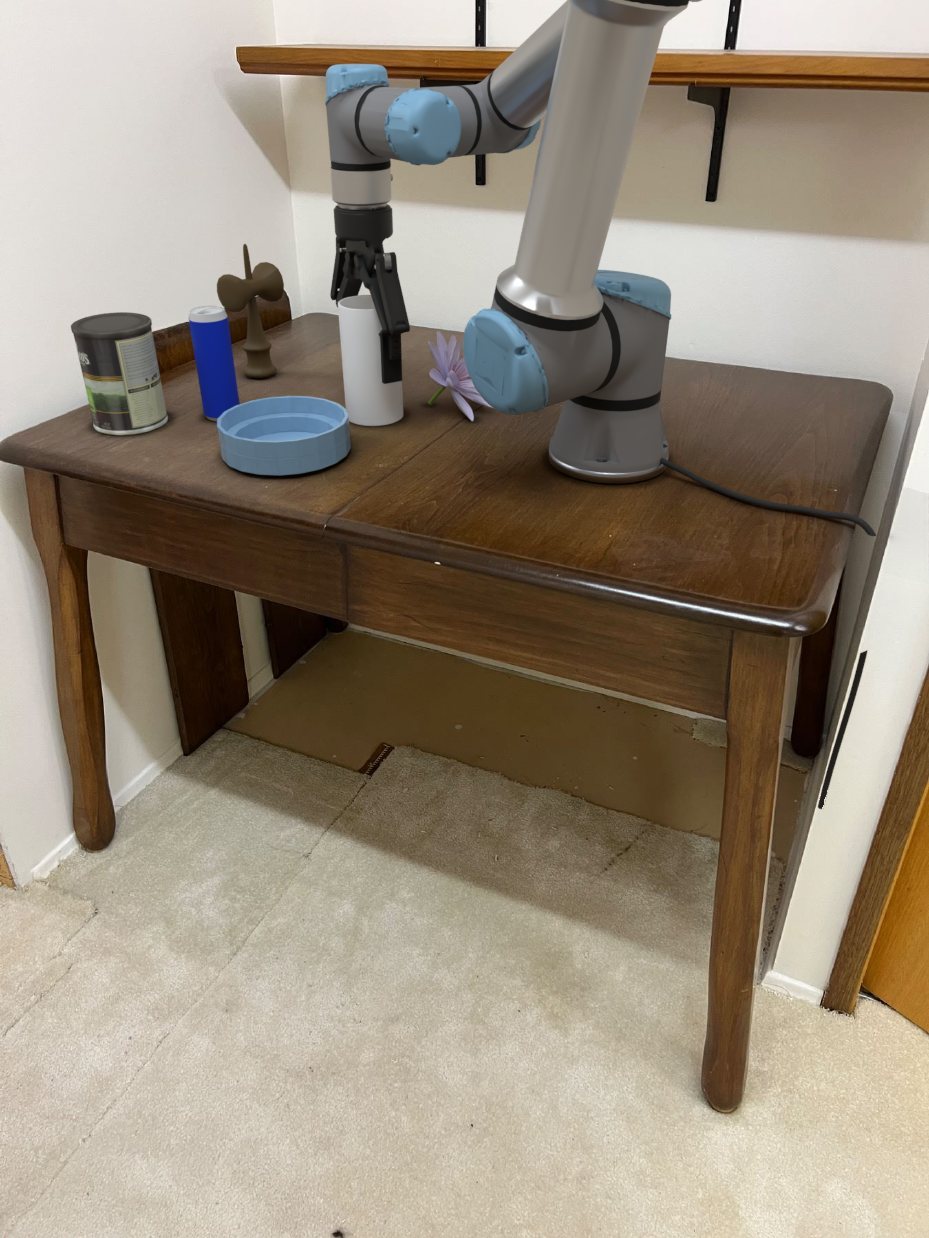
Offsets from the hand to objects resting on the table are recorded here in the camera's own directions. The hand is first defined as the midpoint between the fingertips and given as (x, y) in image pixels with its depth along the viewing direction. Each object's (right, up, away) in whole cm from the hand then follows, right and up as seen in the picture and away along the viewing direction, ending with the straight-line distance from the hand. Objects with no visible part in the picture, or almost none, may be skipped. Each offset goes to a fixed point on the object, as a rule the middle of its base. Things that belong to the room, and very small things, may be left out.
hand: (370, 367), depth 131 cm
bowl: (-10, -14, -8) cm, 19 cm away
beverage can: (-22, -6, +4) cm, 23 cm away
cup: (0, -6, +4) cm, 7 cm away
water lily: (+13, -5, +6) cm, 15 cm away
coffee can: (-34, -8, +2) cm, 35 cm away
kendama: (-20, +4, +19) cm, 28 cm away
